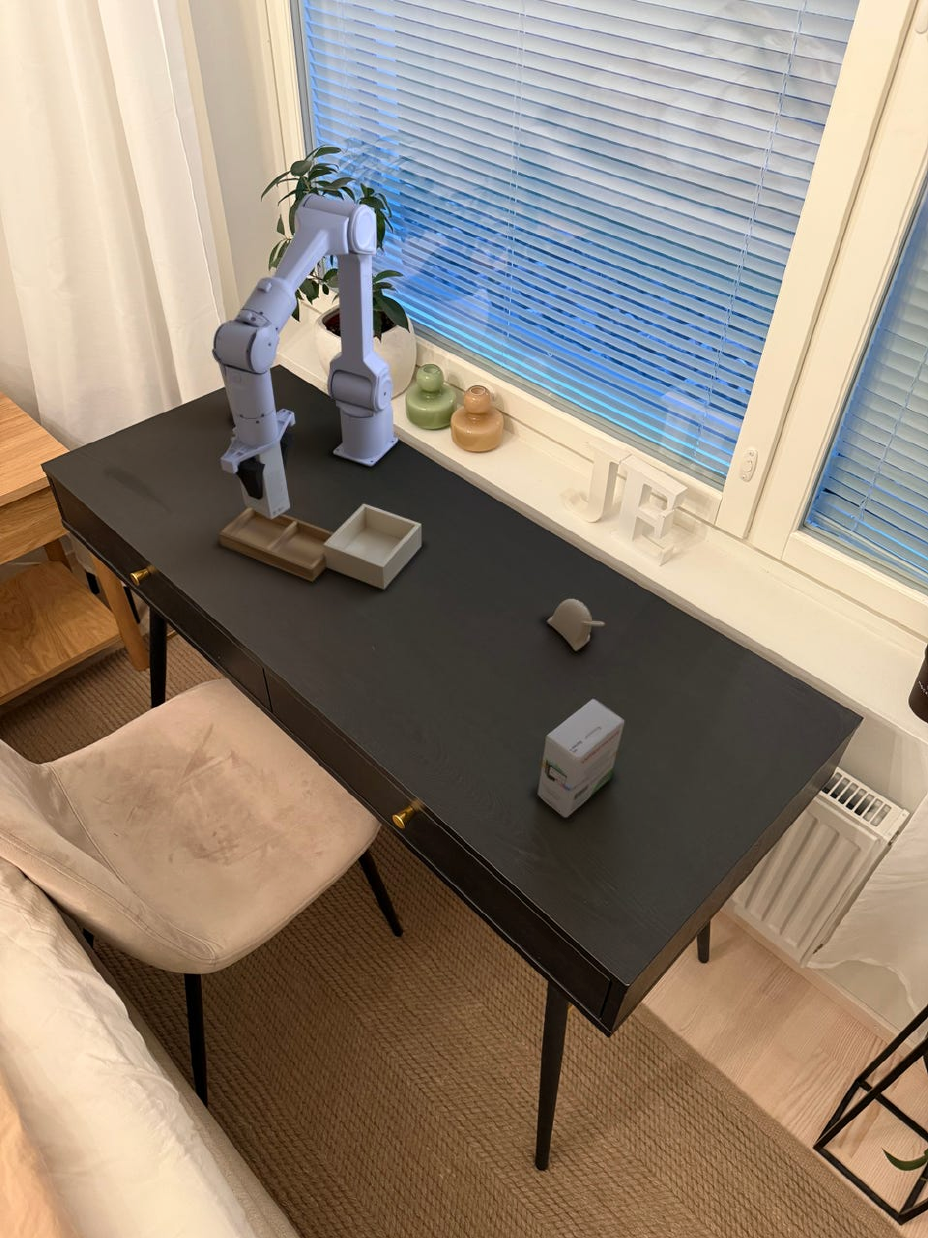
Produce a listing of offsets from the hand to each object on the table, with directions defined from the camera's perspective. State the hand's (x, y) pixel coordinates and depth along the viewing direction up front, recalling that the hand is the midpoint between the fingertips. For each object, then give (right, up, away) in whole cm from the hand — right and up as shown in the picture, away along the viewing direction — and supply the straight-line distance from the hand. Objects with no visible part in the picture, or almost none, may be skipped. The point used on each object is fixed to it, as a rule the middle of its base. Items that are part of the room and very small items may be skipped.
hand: (266, 487), depth 133 cm
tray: (+1, -8, +6) cm, 11 cm away
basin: (+15, -10, +5) cm, 19 cm away
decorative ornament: (+45, -22, -5) cm, 50 cm away
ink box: (+43, -40, -23) cm, 63 cm away
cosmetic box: (-1, -3, +3) cm, 4 cm away
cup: (-10, +17, +31) cm, 37 cm away
